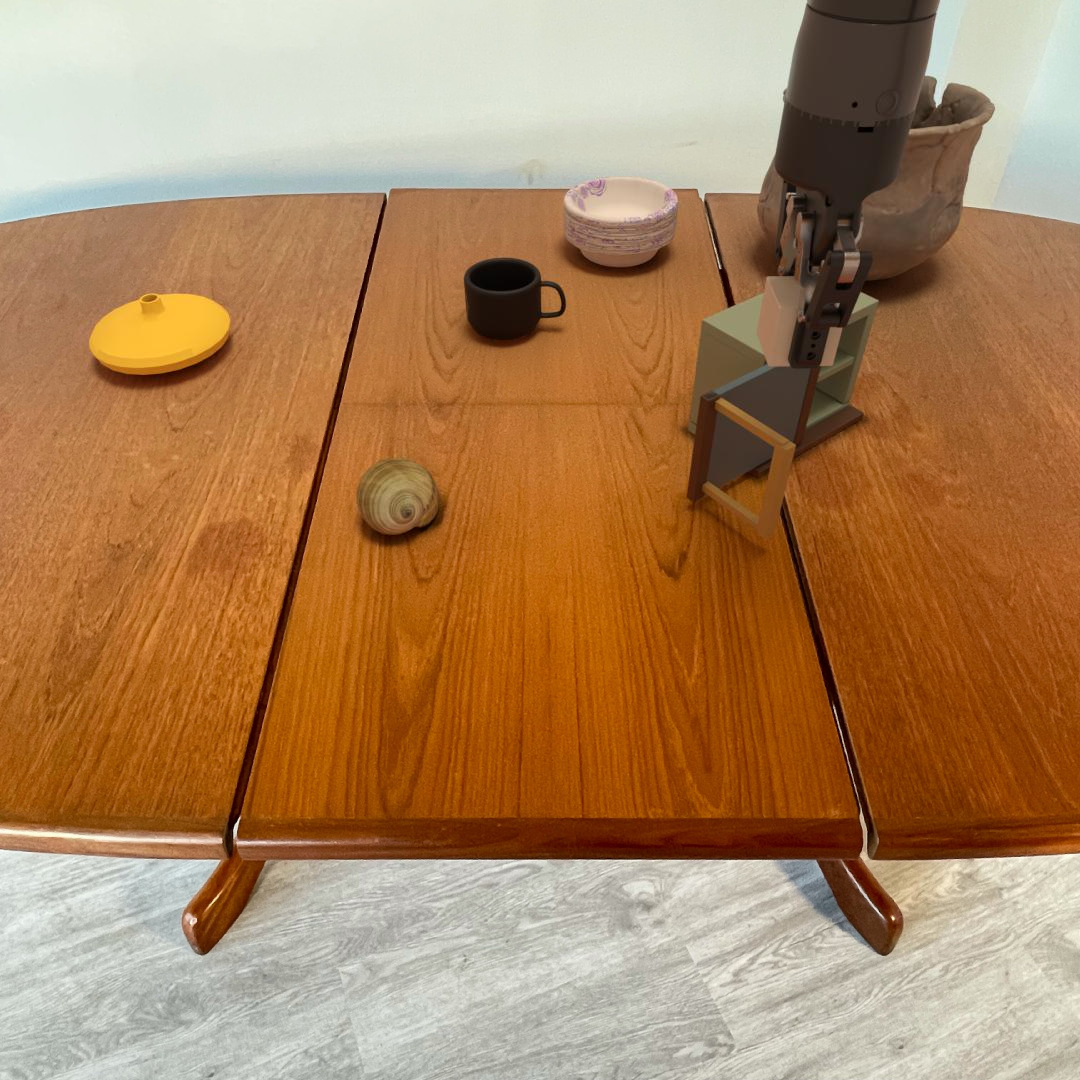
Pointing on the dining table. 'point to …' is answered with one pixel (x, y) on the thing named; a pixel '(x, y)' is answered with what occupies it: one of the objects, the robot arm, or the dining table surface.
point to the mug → (506, 298)
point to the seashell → (397, 496)
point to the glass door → (751, 437)
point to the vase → (160, 333)
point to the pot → (911, 183)
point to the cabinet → (738, 352)
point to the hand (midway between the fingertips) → (795, 345)
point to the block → (785, 322)
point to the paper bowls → (620, 219)
